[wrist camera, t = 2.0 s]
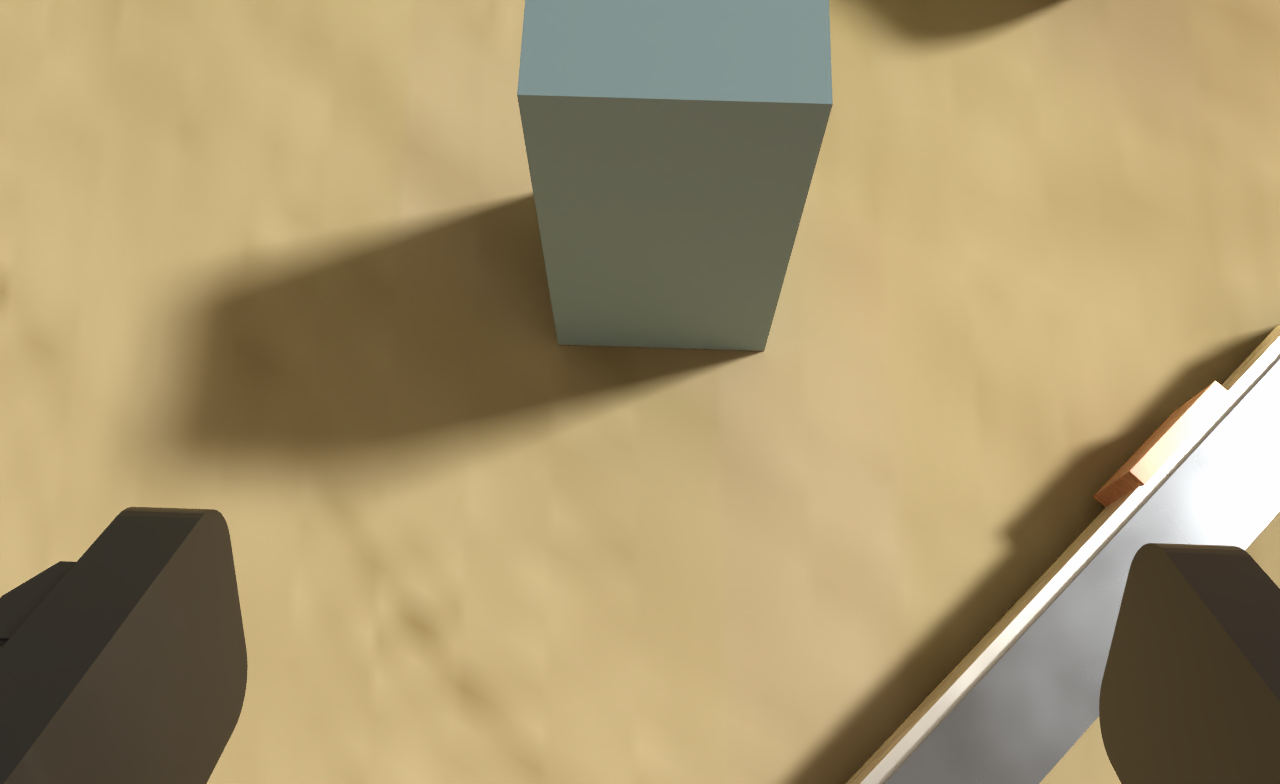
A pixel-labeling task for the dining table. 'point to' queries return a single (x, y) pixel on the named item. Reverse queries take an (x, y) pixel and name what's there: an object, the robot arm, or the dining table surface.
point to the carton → (671, 161)
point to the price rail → (1096, 592)
